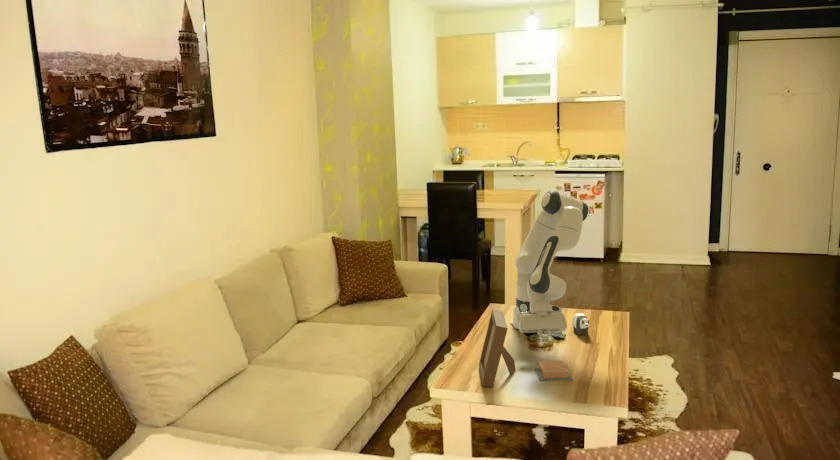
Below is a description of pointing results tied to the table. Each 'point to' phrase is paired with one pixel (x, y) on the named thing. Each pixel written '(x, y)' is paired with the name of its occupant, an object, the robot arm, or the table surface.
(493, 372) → the photo frame
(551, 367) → the tile
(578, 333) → the giant panda
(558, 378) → the mat
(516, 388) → the table surface
